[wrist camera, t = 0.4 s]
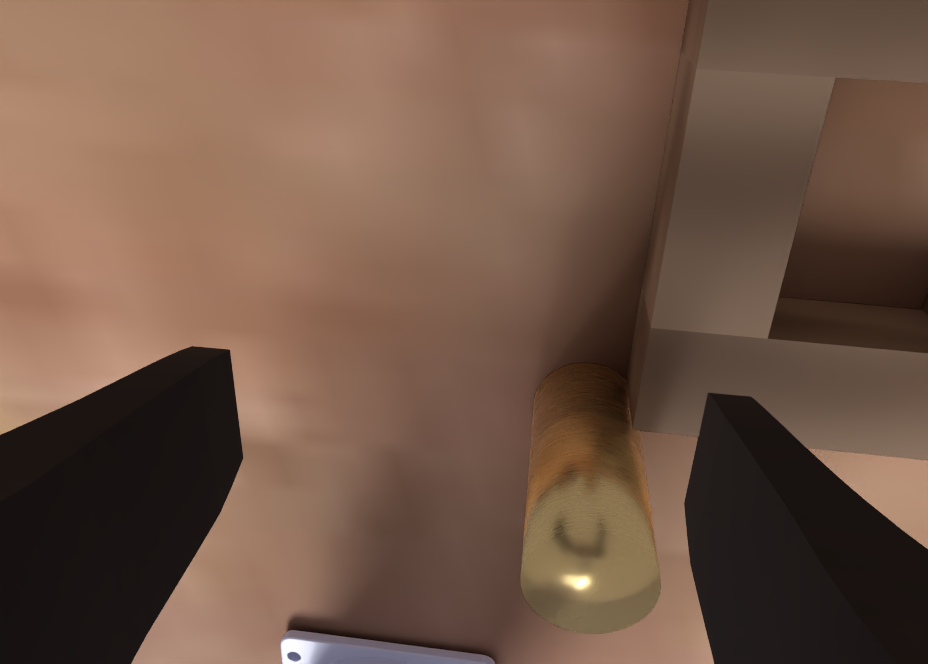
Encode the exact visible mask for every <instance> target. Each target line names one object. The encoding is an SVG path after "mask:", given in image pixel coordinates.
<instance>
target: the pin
mask: <svg viewBox="0 0 928 664" xmlns="http://www.w3.org/2000/svg"><path fill="white" fill-rule="evenodd" d="M520 584H521V590H522V593H523V595H524V598H525V599H526V601H527V603H528V604H529V606H530V607H531V608H532V609H533V610H534V611H535V612H536V613H537V614H538V615H539V616H540V617H542V618H543V619H545V620H546V621H548V622H549V623H551V624H553V625H555V626H558V627H560V628H563V629H566V630H570V631H573V632H579V633H588V634H600V633H609V632H614V631H618V630H621V629H625V628H627V627H629V626H632V625H634V624H635V623H637V622H639V621H640V620H642V619H643V618H644V617H645V616H646V615H647V614H648V613H650V611H651V610H652V609H653V607H654V606H655V604H656V602H657V600H658V598H659V595H660V589H661V582H660V573H659V566H658V559H657V551H656V544H655V537H654V529H653V522H652V515H651V507H650V500H649V493H648V486H647V478H646V471H645V464H644V456H643V449H642V442H641V434H640V431H638V430H632V421H631V413H630V405H629V397H628V389H627V381H626V380H625V379H624V378H623V377H622V376H621V375H620V374H618V373H617V372H616V371H614V370H612V369H610V368H608V367H605V366H602V365H599V364H593V363H576V364H570V365H567V366H564V367H562V368H559V369H557V370H556V371H554V372H552V373H551V374H550V375H548V376H547V377H546V378H545V379H544V380H543V381H542V383H541V384H540V385H539V387H538V389H537V391H536V394H535V398H534V407H533V420H532V433H531V446H530V459H529V472H528V485H527V498H526V511H525V524H524V537H523V550H522V563H521V577H520Z"/></svg>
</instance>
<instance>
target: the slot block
mask: <svg viewBox="0 0 928 664" xmlns="http://www.w3.org/2000/svg"><path fill="white" fill-rule="evenodd" d="M835 78H850V79H866V80H882V81H898V82H914V83H928V0H689V6H688V12H687V18H686V24H685V30H684V36H683V42H682V48H681V54H680V60H679V66H678V72H677V78H676V84H675V90H674V96H673V102H672V108H671V114H670V120H669V126H668V132H667V138H666V144H665V150H664V156H663V162H662V168H661V174H660V180H659V186H658V192H657V198H656V204H655V210H654V217H653V223H652V229H651V235H650V241H649V247H648V253H647V259H646V265H645V271H644V277H643V283H642V289H641V295H640V301H639V307H638V313H637V319H636V325H635V331H634V337H633V343H632V349H631V355H630V361H629V367H628V373H627V379H626V381H627V389H628V397H629V405H630V413H631V421H632V430H638V431H648V432H658V433H667V434H677V435H687V436H696V437H699V432H700V427H701V423H702V418H703V413H704V408H705V404H706V399H707V394H708V393H718V394H729V395H740V396H751V397H752V398H754V399H755V400H756V401H757V402H758V403H759V404H760V405H762V406H763V407H764V408H765V409H766V410H767V411H768V412H769V413H770V414H771V415H772V416H773V417H774V418H776V419H777V420H778V421H779V422H780V423H781V424H782V425H783V426H784V427H785V428H786V429H787V430H788V431H789V432H790V433H791V434H792V435H793V436H794V437H795V438H797V439H798V440H799V441H800V442H801V443H802V444H803V445H804V446H805V447H806V448H812V449H822V450H832V451H841V452H851V453H861V454H870V455H880V456H890V457H899V458H909V459H919V460H928V296H927V299H926V302H925V304H924V307H923V310H920V309H909V308H897V307H886V306H875V305H863V304H852V303H840V302H829V301H817V300H806V299H794V298H783V297H779V293H780V289H781V285H782V281H783V278H784V274H785V270H786V266H787V262H788V258H789V255H790V251H791V247H792V243H793V239H794V235H795V232H796V228H797V224H798V220H799V216H800V212H801V208H802V205H803V201H804V197H805V193H806V189H807V185H808V182H809V178H810V174H811V170H812V166H813V162H814V159H815V155H816V151H817V147H818V143H819V139H820V136H821V132H822V128H823V124H824V120H825V116H826V113H827V109H828V105H829V101H830V97H831V93H832V90H833V86H834V82H835Z"/></svg>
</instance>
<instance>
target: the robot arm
mask: <svg viewBox="0 0 928 664" xmlns="http://www.w3.org/2000/svg"><path fill="white" fill-rule="evenodd" d="M242 460H243V452H242V444H241V436H240V428H239V420H238V412H237V404H236V396H235V388H234V380H233V372H232V364H231V356H230V350H227V349H216V348H205V347H194V346H192V347H189V348H186V349H183V350H181V351H178V352H176V353H174V354H171V355H169V356H167V357H165V358H162V359H160V360H158V361H156V362H154V363H152V364H150V365H148V366H146V367H144V368H142V369H140V370H138V371H136V372H134V373H132V374H130V375H128V376H126V377H124V378H122V379H120V380H118V381H116V382H114V383H112V384H110V385H107V386H105V387H103V388H101V389H99V390H97V391H95V392H93V393H91V394H89V395H87V396H85V397H83V398H81V399H79V400H77V401H75V402H73V403H71V404H68V405H66V406H64V407H62V408H60V409H57V410H55V411H53V412H51V413H49V414H46V415H44V416H42V417H40V418H37V419H35V420H33V421H31V422H29V423H26V424H24V425H22V426H20V427H18V428H15V429H13V430H11V431H9V432H6V433H4V434H1V435H0V664H131V663H132V661H133V659H134V657H135V655H136V653H137V651H138V650H139V648H140V646H141V644H142V642H143V641H144V639H145V637H146V635H147V633H148V632H149V630H150V628H151V627H152V625H153V623H154V622H155V620H156V618H157V617H158V615H159V614H160V612H161V610H162V609H163V607H164V605H165V604H166V602H167V600H168V599H169V597H170V595H171V594H172V592H173V591H174V589H175V587H176V586H177V584H178V582H179V581H180V579H181V577H182V576H183V574H184V573H185V571H186V569H187V568H188V566H189V564H190V563H191V561H192V559H193V558H194V556H195V554H196V553H197V551H198V549H199V548H200V546H201V544H202V543H203V541H204V539H205V538H206V536H207V534H208V533H209V531H210V529H211V528H212V526H213V524H214V522H215V521H216V519H217V517H218V516H219V514H220V512H221V510H222V508H223V505H224V503H225V501H226V498H227V496H228V494H229V492H230V489H231V487H232V485H233V482H234V480H235V477H236V475H237V472H238V470H239V467H240V465H241V462H242ZM684 505H685V516H686V527H687V537H688V546H689V555H690V564H691V568H692V572H693V577H694V581H695V585H696V590H697V594H698V598H699V602H700V606H701V611H702V615H703V619H704V623H705V627H706V631H707V635H708V639H709V643H710V647H711V651H712V655H713V660H714V664H928V549H927V548H925V547H924V546H923V545H921V544H920V543H919V542H917V541H916V540H915V539H913V538H912V537H910V536H909V535H908V534H906V533H905V532H904V531H903V530H901V529H900V528H899V527H897V526H896V525H895V524H894V523H893V522H891V521H890V520H889V519H888V518H886V517H885V516H884V515H883V514H881V513H880V512H879V511H878V510H876V509H875V508H874V507H873V506H872V505H870V504H869V503H868V502H867V501H865V500H864V499H863V498H862V497H861V496H859V495H858V494H857V493H856V492H855V491H854V490H852V489H851V488H850V487H849V486H848V485H847V484H845V483H844V482H843V481H842V480H841V479H840V478H839V477H838V476H836V475H835V474H834V473H833V472H832V471H831V470H830V469H829V468H828V467H827V466H825V465H824V464H823V463H822V462H821V461H820V460H819V459H818V458H817V457H816V456H815V455H813V454H812V453H811V452H810V451H809V450H808V449H807V448H806V447H805V446H804V445H803V444H802V443H801V442H800V441H799V440H798V439H797V438H795V437H794V436H793V435H792V434H791V433H790V432H789V431H788V430H787V429H786V428H785V427H784V426H783V425H782V424H781V423H780V422H779V421H778V420H777V419H776V418H774V417H773V416H772V415H771V414H770V413H769V412H768V411H767V410H766V409H765V408H764V407H763V406H762V405H760V404H759V403H758V402H757V401H756V400H755V399H754V398H752V397H751V396H740V395H729V394H718V393H708V394H707V399H706V404H705V408H704V413H703V418H702V423H701V427H700V432H699V437H698V441H697V446H696V451H695V456H694V460H693V465H692V470H691V474H690V479H689V484H688V488H687V493H686V498H685V503H684ZM280 645H281V655H282V664H495V662H494V661H493V659H491V658H490V657H488V656H486V655H481V654H473V653H466V652H458V651H450V650H443V649H435V648H427V647H420V646H412V645H404V644H397V643H389V642H382V641H374V640H366V639H359V638H351V637H343V636H336V635H328V634H320V633H313V632H305V631H297V630H290V631H287V632H286V633H285V634H284V635H283V638H282V640H281V644H280Z"/></svg>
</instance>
